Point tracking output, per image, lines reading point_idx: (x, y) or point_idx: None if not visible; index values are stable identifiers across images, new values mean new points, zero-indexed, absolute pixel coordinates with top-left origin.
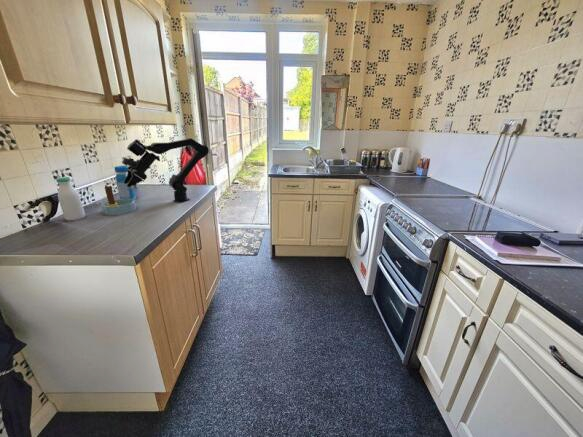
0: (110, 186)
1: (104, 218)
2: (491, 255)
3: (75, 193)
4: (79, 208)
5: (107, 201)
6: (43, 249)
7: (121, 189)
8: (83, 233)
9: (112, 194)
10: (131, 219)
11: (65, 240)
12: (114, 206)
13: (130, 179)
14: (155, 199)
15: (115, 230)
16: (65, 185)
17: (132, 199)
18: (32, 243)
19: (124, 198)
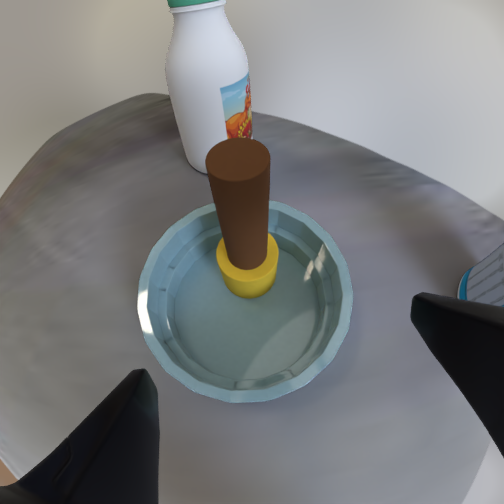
0: (244, 174)
1: None
2: None
3: (179, 71)
4: (187, 136)
5: (302, 218)
6: (26, 176)
7: (498, 261)
8: (46, 217)
9: (230, 229)
10: (77, 362)
11: (35, 194)
12: (143, 275)
13: (89, 452)
14: (437, 459)
15: (13, 300)
16: (174, 21)
17: (297, 382)
18: (69, 143)
19: (463, 290)
